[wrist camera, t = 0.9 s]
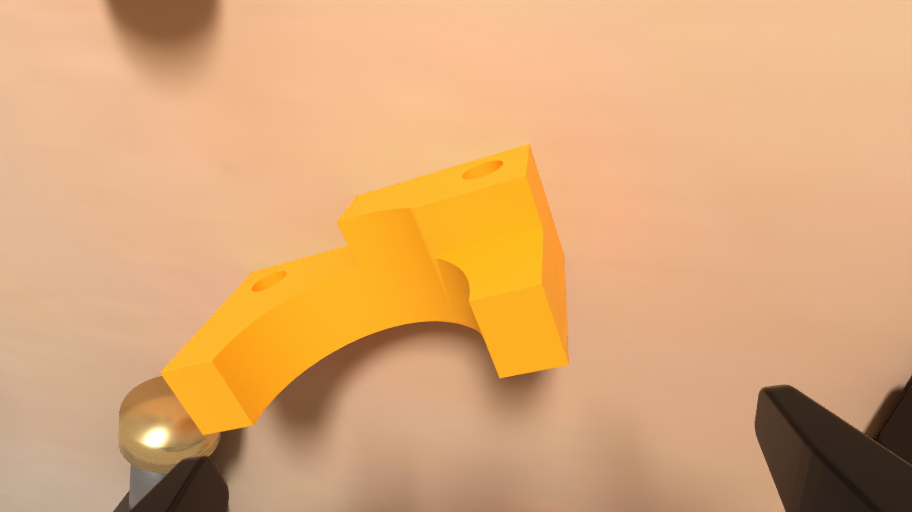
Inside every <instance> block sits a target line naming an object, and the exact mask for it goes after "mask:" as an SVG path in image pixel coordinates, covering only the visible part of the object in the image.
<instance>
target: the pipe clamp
mask: <svg viewBox="0 0 912 512" xmlns="http://www.w3.org/2000/svg"><path fill="white" fill-rule="evenodd" d="M337 223H338V226H339V228H340V230H341V232H342V234H343V236H344V238H345V240H346V242H347V244H348V246H345V247H341V248H338V249H334V250H331V251H327V252H323V253H320V254H316V255H312V256H309V257H305V258H302V259H298V260H294V261H291V262H287V263H284V264H280V265H276V266H273V267H269V268H266V269H262V270H258V271H255V272H252V273H251V274H250V275H249V276H248V277H247V278H246V279H245V280H244V281H243V283H242V284H241V285H240V286H239V287H238V288H237V289H236V290H235V291H234V292H233V294H232V295H231V296H230V297H229V298H228V299H227V300H226V301H225V302H224V303H223V305H222V306H221V307H220V308H219V309H218V310H217V311H216V312H215V313H214V314H213V316H212V317H211V318H210V319H209V320H208V321H207V322H206V323H205V324H204V325H203V327H202V328H201V329H200V330H199V331H198V332H197V333H196V334H195V335H194V336H193V338H192V339H191V340H190V341H189V342H188V343H187V344H186V345H185V346H184V347H183V349H182V350H181V351H180V352H179V353H178V354H177V355H176V356H175V357H174V358H173V359H172V361H171V362H170V363H169V364H168V365H167V366H166V367H165V368H164V369H163V370H162V372H161V373H160V374H161V375H162V377H163V378H164V379H165V381H166V382H167V384H168V385H169V387H170V388H171V390H172V391H173V392H174V394H175V395H176V397H177V398H178V400H179V401H180V403H181V404H182V405H183V407H184V408H185V410H186V411H187V413H188V414H189V415H190V417H191V418H192V420H193V421H194V423H195V424H196V426H197V427H198V428H199V430H200V431H201V433H202V434H203V435H206V434H212V433H217V432H222V431H227V430H232V429H238V428H243V427H248V426H253V425H254V424H255V422H256V421H257V419H258V418H259V416H260V415H261V414H262V412H263V411H264V410H265V409H266V407H267V406H268V405H269V404H270V403H271V401H272V400H273V399H274V398H275V397H276V396H277V395H278V394H279V393H280V392H281V391H282V390H283V389H284V388H285V387H286V386H287V385H288V384H290V383H291V382H292V381H293V380H294V379H295V378H296V377H298V376H299V375H300V374H301V373H303V372H304V371H305V370H307V369H308V368H309V367H311V366H312V365H314V364H315V363H316V362H318V361H320V360H321V359H323V358H324V357H326V356H327V355H329V354H331V353H332V352H334V351H336V350H338V349H340V348H342V347H343V346H345V345H347V344H349V343H351V342H354V341H356V340H358V339H360V338H363V337H365V336H368V335H370V334H373V333H376V332H378V331H381V330H385V329H388V328H391V327H395V326H400V325H404V324H410V323H416V322H426V321H443V322H452V323H458V324H461V325H465V326H468V327H470V328H473V329H475V330H476V331H478V332H480V333H481V334H482V335H483V338H484V340H485V343H486V345H487V348H488V351H489V353H490V356H491V358H492V361H493V363H494V366H495V368H496V371H497V373H498V376H499V378H504V377H509V376H515V375H520V374H525V373H530V372H535V371H541V370H546V369H551V368H556V367H562V366H567V365H569V358H568V335H567V312H566V288H565V265H564V254H563V251H562V247H561V244H560V241H559V238H558V234H557V231H556V228H555V225H554V222H553V218H552V215H551V212H550V209H549V205H548V202H547V199H546V196H545V192H544V189H543V186H542V183H541V180H540V176H539V173H538V170H537V167H536V163H535V160H534V157H533V154H532V150H531V147H530V144H527V145H524V146H520V147H517V148H514V149H511V150H507V151H504V152H501V153H497V154H494V155H491V156H487V157H484V158H481V159H477V160H474V161H471V162H467V163H464V164H461V165H458V166H454V167H451V168H448V169H444V170H441V171H438V172H434V173H431V174H428V175H424V176H421V177H418V178H414V179H411V180H408V181H405V182H401V183H398V184H395V185H391V186H388V187H385V188H381V189H378V190H375V191H371V192H368V193H365V194H362V195H358V196H356V198H355V199H354V200H353V202H352V203H351V204H350V205H349V207H348V208H347V209H346V211H345V212H344V213H343V215H342V216H341V217H340V218H339V220H338V221H337Z"/></svg>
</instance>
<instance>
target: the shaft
mask: <svg viewBox="0 0 912 512" xmlns="http://www.w3.org/2000/svg"><path fill="white" fill-rule="evenodd" d="M220 436H221V432H217V433H212V434H206V435H203V434H202V433H201V431H200V430H199V428H198V427H197V426H196V424H195V423H194V421H193V420H192V418H191V417H190V415H189V414H188V413H187V411H186V410H185V408H184V407H183V405H182V404H181V403H180V401H179V400H178V398H177V397H176V395H175V394H174V392H173V391H172V390H171V388H170V387H169V385H168V384H167V382H166V381H165V379H164V378H163V377H162V376H161V377H157V378H153V379H150V380H148V381H146V382H143V383H142V384H140V385H138V386H137V387H135V388H134V389H133V390H132V391H131V392H129V393H128V395H127V396H126V397H125V399H124V400H123V402H122V404H121V407H120V411H119V448H120V451H121V453H122V455H123V456H124V458H125V459H126V460H127V461H128V462H129V463H131V473H130V491H129V492H128V493H127V494H126V496H125V497H124V498H123V500H122V501H121V502H120V503H119V505H118V506H117V507H116V509H115V510H114V511H113V512H129V511H130V510H131V509H132V508H133V507H134V506H135V505H136V504H137V503H138V502H139V501H140V500H141V499H142V498H143V497H144V496H145V495H146V494H147V493H148V492H149V491H150V490H151V489H152V488H153V487H154V486H155V485H156V484H157V483H158V482H159V481H160V480H161V479H162V478H163V477H164V476H165V475H166V474H167V473H168V472H169V471H170V470H172V469H173V468H174V467H175V466H176V465H177V464H178V463H179V462H180V461H181V460H183V459H184V458H187V457H194V456H202V455H207V456H210V455H211V454H212V453H213V452H214V450H215V449H216V447H217V445H218V443H219V440H220Z"/></svg>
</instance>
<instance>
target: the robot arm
mask: <svg viewBox="0 0 912 512" xmlns="http://www.w3.org/2000/svg"><path fill="white" fill-rule="evenodd" d="M755 432H756V436H757V439H758V442H759V444H760V447H761V450H762V452H763V455H764V457H765V460H766V462H767V465H768V467H769V470H770V473H771V475H772V478H773V480H774V483H775V485H776V488H777V490H778V493H779V496H780V498H781V501H782V503H783V506H784V508H785V511H786V512H912V384H911V386H910V387H909V389H908V390H907V392H906V393H905V395H904V396H903V398H902V399H901V401H900V403H899V404H898V406H897V407H896V409H895V410H894V412H893V413H892V415H891V416H890V418H889V419H888V421H887V422H886V424H885V426H884V427H883V429H882V430H881V432H880V433H879V435H878V436H877V438H876V439H875V441H874V440H873V439H871V438H870V437H868V436H867V435H865V434H864V433H862V432H861V431H859V430H858V429H856V428H855V427H853V426H852V425H850V424H849V423H847V422H846V421H844V420H843V419H841V418H840V417H838V416H836V415H835V414H833V413H832V412H830V411H829V410H827V409H826V408H824V407H823V406H821V405H820V404H818V403H817V402H815V401H814V400H812V399H811V398H809V397H808V396H806V395H805V394H803V393H802V392H800V391H799V390H797V389H796V388H794V387H792V386H790V385H777V386H768V387H764V388H762V389H761V390H760V392H759V395H758V402H757V410H756V417H755ZM228 500H229V491H228V486H227V484H226V482H225V480H224V478H223V477H222V475H221V473H220V471H219V470H218V468H217V466H216V465H215V463H214V461H213V460H212V458H211V457H209V456H207V455H202V456H194V457H187V458H184V459H183V460H181V461H180V462H179V463H178V464H177V465H176V466H175V467H174V468H173V469H172V470H170V471H169V472H168V473H167V474H166V475H165V476H164V477H163V478H162V479H161V480H160V481H159V482H158V483H157V484H156V485H155V486H154V487H153V488H152V489H151V490H150V491H149V492H148V493H147V494H146V495H145V496H144V497H143V498H142V499H141V500H140V501H139V502H138V503H137V504H136V505H135V506H134V507H133V508H132V509H131V510H130V511H129V512H227V506H228Z"/></svg>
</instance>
